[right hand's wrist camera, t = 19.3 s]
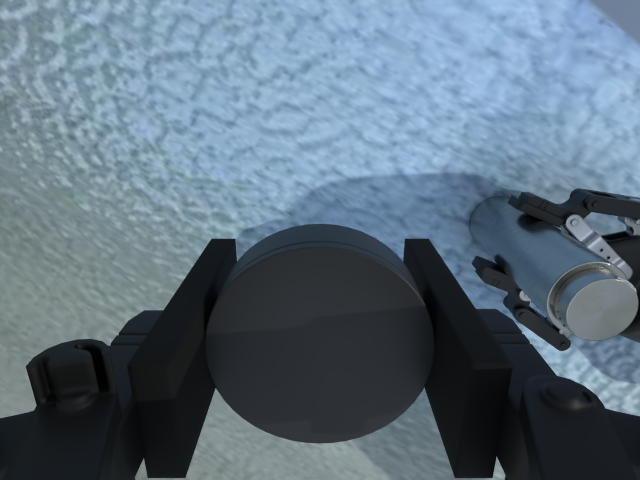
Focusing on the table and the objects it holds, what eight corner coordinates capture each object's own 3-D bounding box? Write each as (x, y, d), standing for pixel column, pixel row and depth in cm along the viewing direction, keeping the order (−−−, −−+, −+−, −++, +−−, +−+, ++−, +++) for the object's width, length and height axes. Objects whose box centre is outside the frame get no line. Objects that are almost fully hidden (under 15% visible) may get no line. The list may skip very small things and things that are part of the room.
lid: (199, 236, 11) (180, 262, 10) (416, 211, 11) (432, 233, 9) (239, 408, 13) (228, 452, 11) (424, 390, 13) (438, 433, 11)
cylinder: (506, 254, 41) (614, 357, 26) (459, 236, 41) (541, 332, 25) (533, 207, 40) (665, 288, 24) (484, 188, 39) (589, 259, 24)
